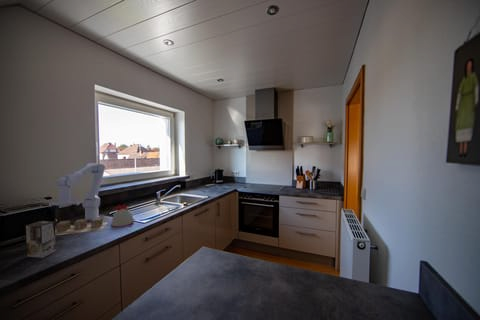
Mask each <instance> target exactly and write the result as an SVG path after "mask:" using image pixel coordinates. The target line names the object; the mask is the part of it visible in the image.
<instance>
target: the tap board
mask: <svg viewBox="0 0 480 320" xmlns="http://www.w3.org/2000/svg"><path fill="white" fill-rule="evenodd" d="M109 222H110V221H103V225H102V226H101V227H98V228H91V222H90V223H89V222H87V227H86V228H84V229H80V230H74V224H70V229H68V230H67V231H61V232H56V229H55V236H62V235H70V234H77V233H78V234H79V233H88V232H96V231H97V232H98V231H103V229H104V228H105V227H106V226H107V225H108V223H109Z"/></svg>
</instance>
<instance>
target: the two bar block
mask: <svg viewBox="0 0 480 320" xmlns="http://www.w3.org/2000/svg"><path fill="white" fill-rule="evenodd" d="M103 219H104V218H103V217H97V218H94V219H93V220H90V223H91V228H98V227H101V226H102V225H103V222H104V221H103Z"/></svg>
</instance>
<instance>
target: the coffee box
mask: <svg viewBox="0 0 480 320" xmlns="http://www.w3.org/2000/svg"><path fill="white" fill-rule="evenodd" d="M25 230H26V231H25V233H26V234H25V235H26V236H25V237H26V239H25V240H26V257H28V258H29V257H30V258H41V259H43V258H45V257H47V256H49V255H51V254H53V253H55V252H56V249H57V248H56V247H57V246H56V243H57V242H56V241H57V240H56V235H55V230H56V221H51V220H49V221H48V220H38V221H36V222H33V223H30V224H26V225H25Z"/></svg>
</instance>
